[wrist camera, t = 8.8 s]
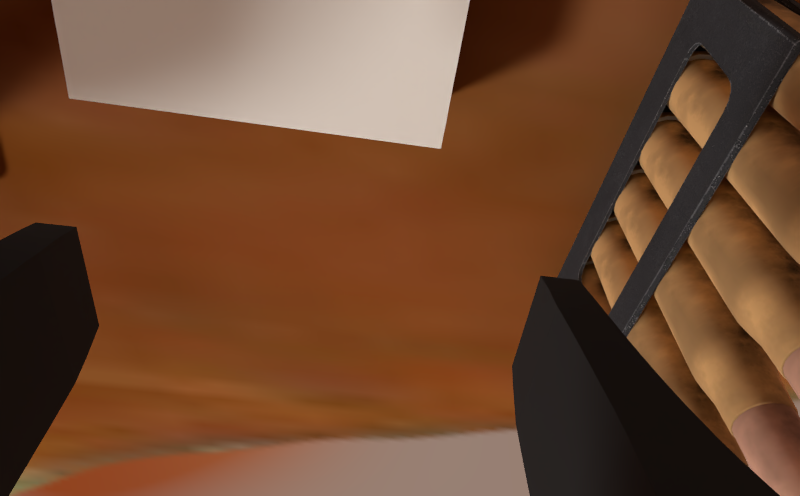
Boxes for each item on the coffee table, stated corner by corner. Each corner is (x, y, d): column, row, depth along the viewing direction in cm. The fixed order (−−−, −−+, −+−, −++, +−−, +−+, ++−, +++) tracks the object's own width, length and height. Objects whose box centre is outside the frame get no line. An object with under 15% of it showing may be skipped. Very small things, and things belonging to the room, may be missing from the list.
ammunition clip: (602, 295, 22) (747, 687, 12) (553, 285, 22) (661, 676, 12) (772, -16, 16) (1327, 279, 6) (705, -34, 16) (1169, 243, 6)
